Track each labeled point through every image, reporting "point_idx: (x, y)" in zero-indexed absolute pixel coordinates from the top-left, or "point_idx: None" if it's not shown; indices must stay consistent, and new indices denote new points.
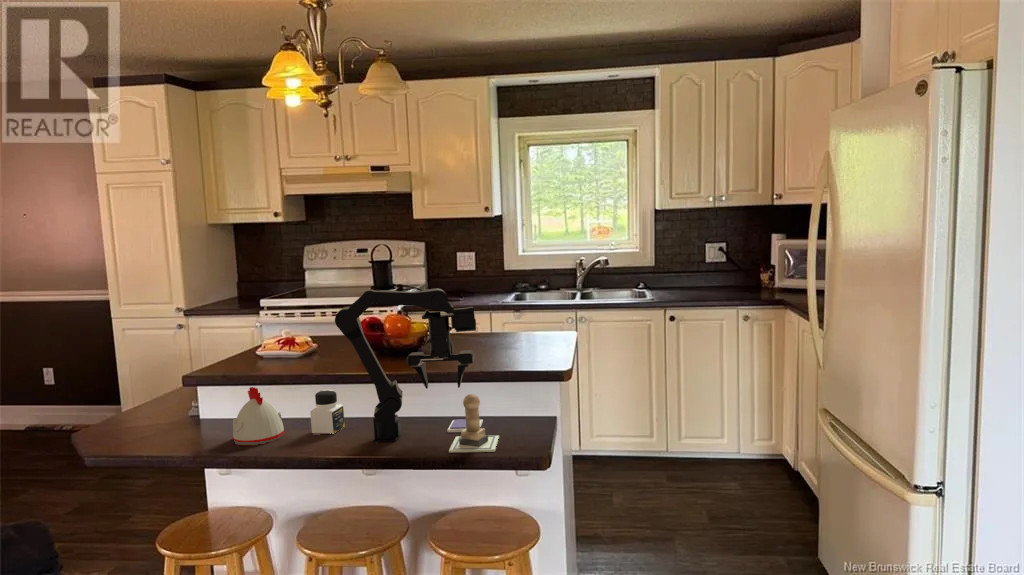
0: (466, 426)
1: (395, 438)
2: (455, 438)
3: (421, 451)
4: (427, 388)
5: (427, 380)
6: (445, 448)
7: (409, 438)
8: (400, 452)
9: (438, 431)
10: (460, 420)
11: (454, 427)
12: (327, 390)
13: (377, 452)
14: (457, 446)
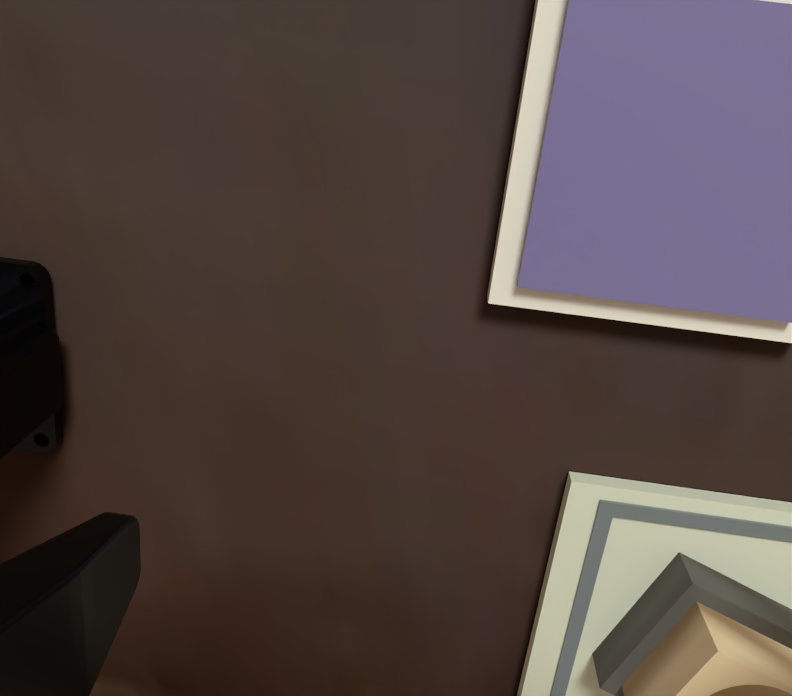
0: None
1: (48, 423)
2: (564, 527)
3: (316, 661)
4: (140, 563)
5: (43, 626)
6: (483, 646)
7: (160, 383)
8: (173, 648)
9: (395, 242)
10: (643, 41)
11: (563, 291)
12: None
13: None
14: (575, 685)
